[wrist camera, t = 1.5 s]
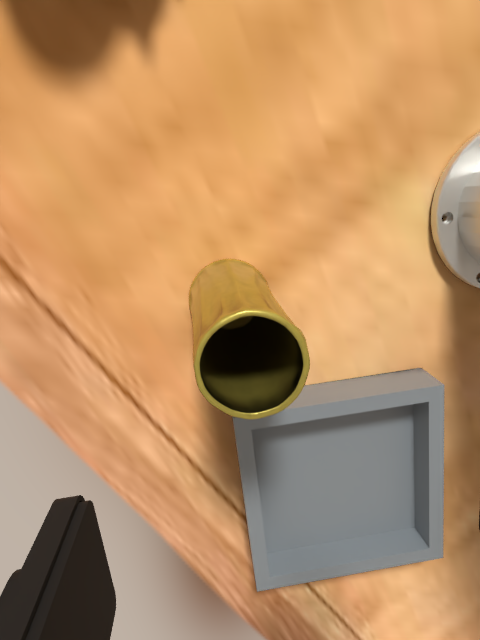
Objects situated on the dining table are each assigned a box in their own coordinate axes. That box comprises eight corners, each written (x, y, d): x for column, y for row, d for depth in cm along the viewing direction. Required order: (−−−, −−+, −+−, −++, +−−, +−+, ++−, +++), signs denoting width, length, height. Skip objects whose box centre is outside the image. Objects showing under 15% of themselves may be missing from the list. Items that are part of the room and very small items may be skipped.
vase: (254, 346, 34) (294, 442, 20) (178, 325, 33) (166, 411, 19) (279, 272, 33) (340, 321, 19) (201, 248, 32) (205, 281, 18)
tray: (421, 367, 36) (444, 384, 33) (422, 528, 40) (443, 557, 37) (229, 397, 35) (233, 417, 32) (251, 558, 39) (257, 591, 36)
